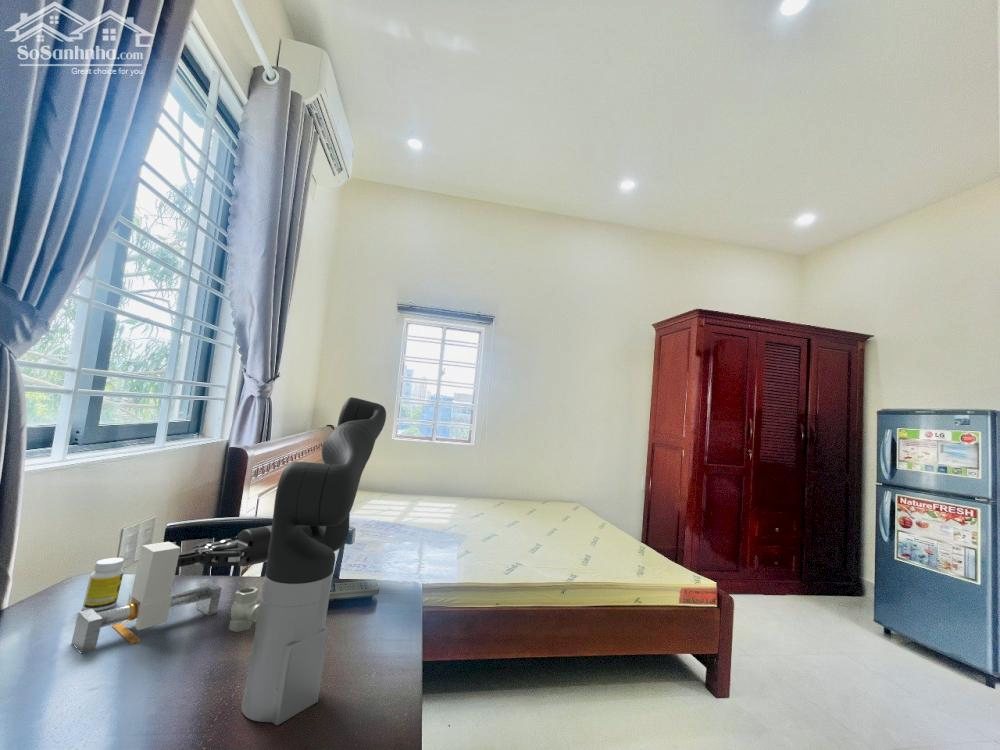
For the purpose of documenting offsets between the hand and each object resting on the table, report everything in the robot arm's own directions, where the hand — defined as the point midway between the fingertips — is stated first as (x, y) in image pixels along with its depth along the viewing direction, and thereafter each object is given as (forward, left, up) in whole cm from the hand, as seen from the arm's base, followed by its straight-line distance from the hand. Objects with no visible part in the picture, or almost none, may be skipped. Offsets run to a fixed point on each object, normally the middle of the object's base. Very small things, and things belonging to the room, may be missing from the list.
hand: (171, 561), depth 73 cm
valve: (-15, -10, -11) cm, 21 cm away
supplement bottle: (+15, +4, -11) cm, 19 cm away
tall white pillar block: (0, +2, -10) cm, 10 cm away
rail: (0, +1, -11) cm, 11 cm away
